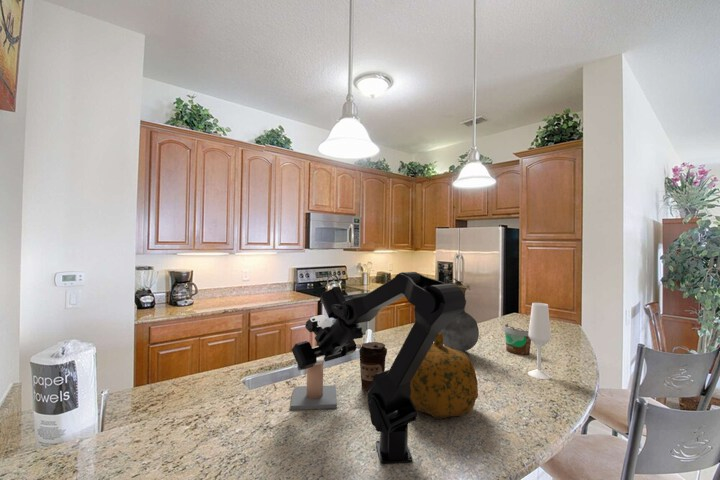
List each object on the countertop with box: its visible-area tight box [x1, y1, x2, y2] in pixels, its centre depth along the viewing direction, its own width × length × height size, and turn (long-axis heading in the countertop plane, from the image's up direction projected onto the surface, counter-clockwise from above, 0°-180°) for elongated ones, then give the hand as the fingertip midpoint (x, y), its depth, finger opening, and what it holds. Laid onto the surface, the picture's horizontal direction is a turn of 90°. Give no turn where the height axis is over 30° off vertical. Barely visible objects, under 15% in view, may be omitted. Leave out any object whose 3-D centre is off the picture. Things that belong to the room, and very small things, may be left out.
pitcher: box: [439, 277, 480, 356], centre depth 127 cm, size 11×19×30 cm, turn 26°
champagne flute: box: [527, 302, 552, 380], centre depth 107 cm, size 7×7×24 cm
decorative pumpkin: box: [410, 333, 479, 420], centre depth 84 cm, size 20×21×20 cm
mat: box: [289, 384, 338, 411], centre depth 87 cm, size 11×12×1 cm
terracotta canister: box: [306, 356, 325, 399], centre depth 87 cm, size 5×5×10 cm
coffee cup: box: [358, 341, 388, 393], centre depth 94 cm, size 9×8×13 cm
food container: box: [503, 323, 532, 356], centre depth 129 cm, size 12×6×10 cm, turn 25°
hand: (312, 364), depth 88 cm, fingers open, 9 cm apart
